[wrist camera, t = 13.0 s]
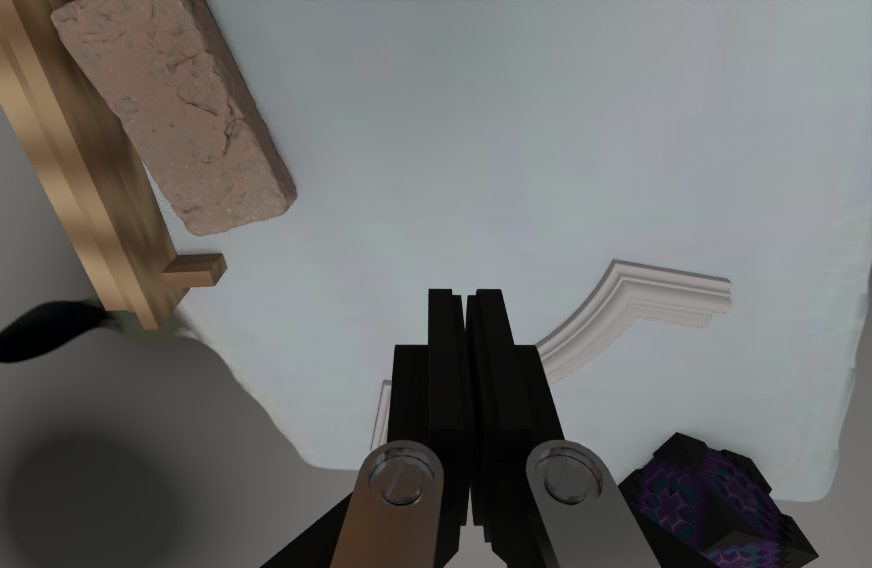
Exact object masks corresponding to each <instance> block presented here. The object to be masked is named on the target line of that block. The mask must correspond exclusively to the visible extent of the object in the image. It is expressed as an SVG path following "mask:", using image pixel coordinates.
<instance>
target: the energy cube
mask: <svg viewBox="0 0 872 568" xmlns="http://www.w3.org/2000/svg"><path fill="white" fill-rule="evenodd" d="M653 456H654V459H655V460H654V461H653V462H652V463H651V464H650V465H649V466H647V467H646V468H645V469H644V470H643V471H640V470H637V469H636V470H635V471H633V472H632V473H631V474H630V475H629V476H628V477H627V478H626V479H625V480H624V481H622V482H621V483H620V484H619V485H617V486H618V488H619V490H620V492H621V494H622V496H623V498H624V499H625V501H626V502H627V503H628V504H630V505H631V506H633V507H634V508H635V509H637V510H638V511H640V512H641V513H643V514H644V515H646V516H647V517H648V518H650V519H651V520H653V521H654V522H656V523H657V524H659V525H660V526H661V527H663V528H664V529H666V530H667V531H669V532H670V533H671V534H673V535H674V536H676V537H677V538H679V539H680V540H682V541H683V542H684V543H686V544H687V545H689V546H690V547H692V548H693V549H695V550H696V551H697V552H699V553H700V554H702V555H703V556H705V557H706V558H708V559H709V560H710V561H712V562H713V563H715V564H716V565H718V566H719V567H720V568H801V567H802V566H804V565H806V564H807V563H809V562H811V561H812V560H814V559H816V558H818V557H819V555H818V554H817V553H816V551H815V550H814V548H813V547H812V545H811V544H810V543H809V541H808V540H807V538H806V537H805V535H804V534H803V533H802V531H801V530H800V529H799V527H798V526H797V524H796V523H795V521H794V520H793V519H792V517H790V516H788V515H784V514H782V513H781V512H780V510H779V509H778V508H777V506H776V504H775V503H774V501H773V500H772V498H771V497H770V496H769V493H770V492H771V490H772V488H771V487H770V486H769V484H768V483H767V481H766V480H765V478H764V477H763V476H762V474H761V473H760V471H759V470H758V468H757V467H756V466H755V464H754V463H753V461H752V460H751V459H750V458H748V457H745V456H742V455H739V454H736V453H734V452H731V451H728V450H723V451H722V452H721V453H718V452H715V451H713V450H710V449H708V448H707V445H706V444H705V442H703V441H700V440H697V439H694V438H692V437H689V436H686V435H683V434H681V433H678V432H676V433H675V434H674V435H673V436H672V437H671V438H670V439H669V440H667V441H666V442H665V443H664V444H663V445H662V446H661V447H660V448H659V449H658V450H657V451H655V452H654V453H653Z"/></svg>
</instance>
